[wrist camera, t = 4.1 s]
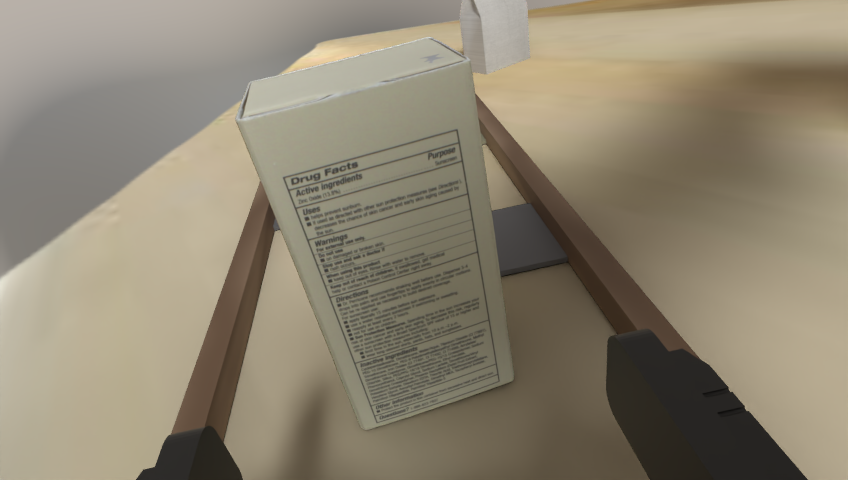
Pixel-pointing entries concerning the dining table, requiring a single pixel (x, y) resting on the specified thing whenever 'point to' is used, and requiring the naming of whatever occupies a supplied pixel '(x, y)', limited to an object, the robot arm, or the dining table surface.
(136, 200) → the dining table surface
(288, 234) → the skincare box
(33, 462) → the dining table surface
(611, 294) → the frame
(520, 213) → the pads
